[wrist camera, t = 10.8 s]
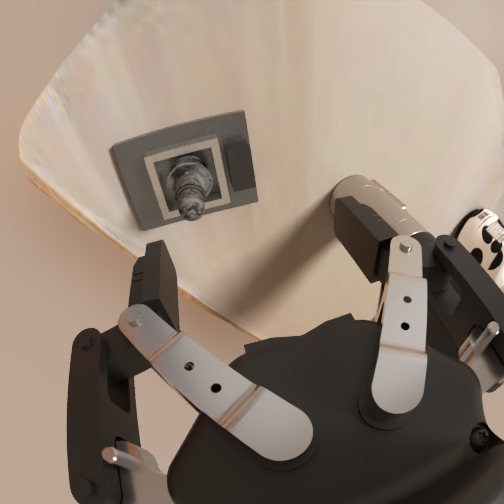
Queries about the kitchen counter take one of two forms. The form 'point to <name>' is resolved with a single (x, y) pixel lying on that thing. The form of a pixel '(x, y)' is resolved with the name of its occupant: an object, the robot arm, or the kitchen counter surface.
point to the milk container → (485, 242)
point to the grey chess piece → (189, 186)
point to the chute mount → (188, 144)
